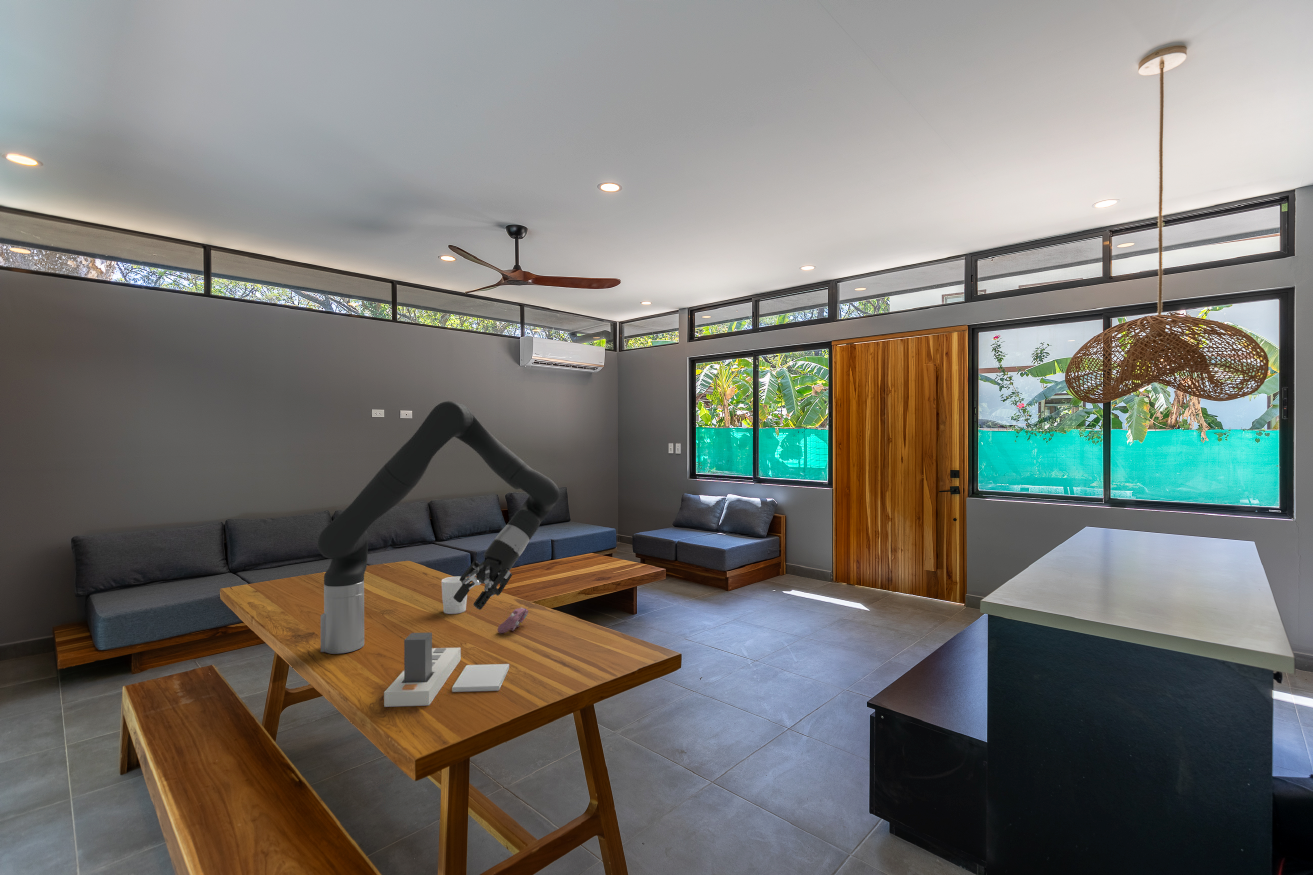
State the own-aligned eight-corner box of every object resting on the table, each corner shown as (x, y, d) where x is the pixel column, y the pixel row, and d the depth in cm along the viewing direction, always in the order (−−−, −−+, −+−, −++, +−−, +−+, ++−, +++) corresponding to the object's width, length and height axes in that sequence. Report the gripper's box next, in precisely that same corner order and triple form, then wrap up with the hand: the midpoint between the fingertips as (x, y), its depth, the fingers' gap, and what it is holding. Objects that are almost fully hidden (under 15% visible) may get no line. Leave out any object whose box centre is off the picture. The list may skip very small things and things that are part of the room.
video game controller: (508, 640, 161) (519, 618, 160) (495, 632, 161) (505, 610, 161) (523, 628, 170) (533, 608, 170) (510, 620, 171) (520, 600, 170)
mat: (452, 691, 125) (452, 687, 125) (466, 669, 137) (466, 664, 137) (498, 690, 126) (498, 685, 126) (509, 668, 138) (509, 663, 138)
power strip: (384, 706, 118) (384, 690, 118) (423, 660, 142) (423, 646, 142) (429, 705, 119) (429, 688, 119) (460, 659, 143) (460, 645, 143)
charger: (404, 695, 123) (404, 639, 123) (411, 686, 128) (411, 632, 128) (425, 695, 124) (425, 639, 123) (432, 686, 128) (431, 632, 128)
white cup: (452, 616, 176) (452, 583, 176) (436, 612, 181) (436, 580, 181) (473, 609, 183) (473, 578, 183) (456, 605, 187) (456, 575, 187)
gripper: (481, 535, 146) (439, 589, 137) (515, 541, 136) (473, 601, 128) (499, 552, 150) (460, 606, 141) (533, 560, 140) (493, 618, 132)
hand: (466, 604), depth 134 cm, fingers open, 8 cm apart
